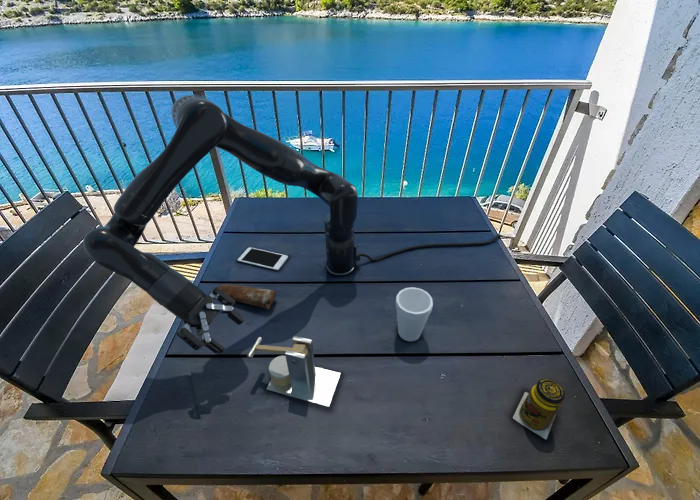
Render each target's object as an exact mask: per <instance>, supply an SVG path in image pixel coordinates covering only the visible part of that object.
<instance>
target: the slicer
mask: <svg viewBox="0 0 700 500" xmlns="http://www.w3.org/2000/svg"><path fill="white" fill-rule="evenodd" d="M291 341H292V345H293V346H294V344H302V345H305V346H306V348H307V350H308V353H307V356H306V355H304V354H300V353H296V352H292V351H288V350H287V351H286V353H285V354H284V356H286V361H287V366H288V371H289V376H290V381H291V383H290V384H289V385H287V386H277V385H275V384H274V383H273V382H272V379H271V378H270V381H269V382H268V384H267V387H266V390H268V391H271V392H274V393H278V394H282V395H285V396H289V397H292V398H296V399H300V400H303V401H305V402H309V403H314V404H317V405H321V406H324V407H328V408H329V407H330V405H331V403H332V400H333V397H334V394H335V391H336V388H337V385H338V382H339V379H340V377H341V372H338V371H334V370H329V369H325V368H323V367H318V366H316V362H315V354H314V345H313V340H312V339H310V338H306V337H301V336H297V335H293V337H292V340H291ZM293 346H292V347H293Z"/></svg>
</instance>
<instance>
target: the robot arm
mask: <svg viewBox="0 0 700 500" xmlns="http://www.w3.org/2000/svg"><path fill="white" fill-rule="evenodd" d="M170 114H171V119H172V122H173V125H174V127H175V128H176V130H175V132H174V134H173V136H172V138H171V139H170V141H169V142H168V144H167V145H166V146H165V148H163V151H162V152H161V153H160V154H159V155H158V156H157V157H156V158H155V159H154V160H153V161H151V162H150V163H149V164H148V165H146V166H145V167H144V168H143V169H142V170H141V171H139V173H138V174H136V176H134V178H133V179H132V180H131V181H130V182H129V184H128V185H127V186H126V188H125V189H124V190H123V192H122V193H121V194H120V195H119V197H118V199H117V200H116V201H115V204H114V205H113V214H112V216H111V217H110V219H109V220H108V222H107V223H106V224H105V225H103V226H99V227H96V228H94V229H92V230H90V231H88V232H87V233H86V234H85V236H84V237H83V240H82V246H83V249H84V252H85V253H86V255H87V256H88V257H89V258H90V259H91V260H92V261H93V262H95V263H96V264H98V265H100V266H101V267H103V268H105V269H107V270H109V271H111V272H112V273H115V274H117V275H118V276H119V275H120V276H122V277H124V278H126V279H128V280H130V281H131V282H132V283H134V284H135V285H136V286H138V288H140V289H141V290H143V291H144V292H145V293H146V294H147V295H149V297H150V298H152V299H153V300H154V301H155V302H156V303H158V304H159V306H162V307H163V308H165V309H166V310H168V311H169V313H171V314H173V315H174V316H175V317H176V318H178V319H180V320H182V322H183V323H184V325H183V326H181V328H180V329H178V330H177V331H176V334H175V335H176V336H177V337H178V338H180V339H181V340H182V341H183V342H184V343H186V344H187V345H188V346H189V347H190V348H192V349H193V350H194V351H198V350H200V349H201V348H203V347H205V348H208V349H209V350H210V351H211V352H213V353H214V354H222V353H223V352H224V351H225V349H226V348H225V347H224V346H223V345H221V344H220V343H218V342H217V341H216V340H215V339H213V338H211V336H210V332H209V331H210V328H209V326H210V325H211V323H212V322H213V320H214V319H215V318H216V317H217V316H218V315H226V317H227V318H229V319H230V320H231V321H233V322H234V323H235V324H236V325H238V326H239V325H242V324H243V323H244V322H245V320H244V317H243V315H241V314H240V313H239V312H238V311H236V310H235V309H234V305H235V304H236V301H235V300H234V299H232V298H231V297H230V296H228V295H227V294H226V293H224V292H223V291H221V290H220V289H219V288H218V287H214V288H212V290H210V291H209V294H208V295H207V294H205V292H204V291H203V290H202V289H201V288H200V287H198V286H197V285H196V284H195V283H193V282H192V281H190V280H189V279H188V278H186V276H184V275H183V274H182V273H181V272H179V271H177V270H175V269H174V268H172V267H171V266H169V265H168V264H167V263H166V262H164V261H163V260H162V259H161V258H160V257H158V256H157V255H155V254H153V253H151V252H143V251H141V250H140V249H138V248H137V247H136V245H137V243H138V242H139V240H140V239H141V237H142V234H143V233H144V231H145V230H146V227H147V225H148V224H149V222H150V221H151V220H152V219H153V217H155V215H156V214H157V213H158V211H159V210H160V208H161V207H162V206H163V204H164V203H165V202H166V200H167V199H168V198H169V197H170V195H171V193H173V191H174V190H175V189H176V188H177V186H178V185H179V184H180V183H181V182H182V180H183V179H184V178H186V176H187V175H188V174H189V173H190V172H191V171H192V170H193V169H194V167H196V166H197V165H198V164H199V163H200V162H201V161H202V160H203V159H204V158H205V157H206V156H207V155H208V154H209V153H210V152H211V151H213V149H214V148H217V149H220V150H222V151H224V152H227V153H228V154H230V155H232V156H234V157H235V158H236V159H238V160H239V161H241V162H242V163H244V164H245V165H246V166H248V167H249V168H251V169H252V170H255V171H256V172H258V173H260V174H261V175H262V176H265V177H267V178H269V179H271V180H273V181H275V182H277V183H279V184H282V185H286V186H292V187H299V188H303V189H305V190H306V191H308V192H310V193H312V194H313V195H315V196H316V197H318V198H319V199H320V200H321V201H322V202H323V203H325V204H326V205H327V206H328V207H329V213H328V214H327V215H326V216H325V217H324V221H323V222H324V235H325V236H324V237H325V238H324V239H325V253H326V254H325V255H326V270H327V272H328V273H329V274H331V275H333V276H336V277H337V276H338V277H343V276H348V275H350V274H351V273H352V272H353V271H354V270H355V269H356V268H357V262H359V261H361V257H364V258H367V259H368V260H369V261H372V262H378V261H382V260H384V259H386V258H388V257H391V256H393V255H397V254H400V253H403V252H406V251H410V250H415V249H420V248H421V249H422V248H430V247H458V246H459V247H460V246H461V247H463V246H466V247H467V246H482V245H488V244H490V243H491V244H492V243H493V242H494V241H495V240H497V239H498V238H503V235H502V234H501V233H498V234H496V235H495V236H494V237H493V238H491V239H489V240H487V241H479V242H478V241H476V242H456V243H455V242H452V243H451V242H450V243H449V242H448V243H447V242H445V243H428V244H419V245H418V244H417V245H412V246H407V247H404V248H401V249H397V250H395V251H392V252H388V253H386V254H384V255H382V256H380V257H375V258H372V257H371V256H370V255H369V254H366V253H362V252H359V251H358V250H357V245H356V244H355V222H356V220H357V217H358V203H359V202H358V201H359V193H358V189H357V187H356V186H355V185H354V184H353V183H352V182H351V181H349V180H348V179H346V178H345V177H344V176H342V175H340V174H338V173H335V172H334V171H330V170H327V169H326V168H323V167H321V166H318V165H316V163H314V162H312V161H311V160H310V159H308V158H307V157H306V156H305V155H303V153H301V152H299V151H298V150H296V149H294V148H293V147H291V146H289V145H288V144H285V143H284V142H282V141H280V140H279V139H276V138H274V137H273V136H270V135H268V134H266V133H264V132H261V131H258V130H256V129H254V128H252V127H250V126H247V125H245V124H242V123H241V122H239V121H237V120H236V119H235V118H233V117H231V116H230V115H229V114H227V113H225V112H224V111H223V110H222V108H221V107H220V106H219V105H217V104H215V102H213V101H211V100H209V99H208V98H206V97H204V96H203V95H198V94H188V95H183V96H180V97H179V98H177V99H176V100H175V101H174V103H173V104H172V107H171V113H170ZM215 300H217V301H218V302H219V304H217V303H215ZM220 303H221V304H220ZM191 328H195V332H196V335H197V336H196V335H195V334H194V333H192V330H191Z"/></svg>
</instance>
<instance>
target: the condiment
mask: <svg viewBox="0 0 700 500" xmlns="http://www.w3.org/2000/svg"><path fill="white" fill-rule="evenodd" d="M565 397H566V393H565V390H564V388H563V387H562V386H561V385H560V383H558V382H557V381H555V380H554V379H551V378H541V379H539V380H538V381H537V383H536V384H535V385H533V386H532V387H531V388H530V390H529V392H527V391H525V392H524V393H523V396H522V397H521V399H520V402H519V403H518V405H517V408H516V410H515V411H514V414H513V416H512V419H513V421H516V422H517V423H519V424H520V425H522V426H524V427H525V428H526V429H528V430H530V431H531V432H533V433H534V434H536V435H538V436H539V437H541V438H542V439H544V440H547V439H548V437H549V434H550V432H551V429H552V426H553V423H554V421H555V419H556V416H557V413H558V412H559V411H560V409H561V407H562V405H563V401H564V400H565Z"/></svg>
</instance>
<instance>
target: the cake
mask: <svg viewBox="0 0 700 500" xmlns="http://www.w3.org/2000/svg"><path fill="white" fill-rule="evenodd" d="M268 371H269V375H270V380H271V379H272V382H273V383H274V384H275V385H277V386H287V385H289V384H290V383H291V381H290V376H289V371H288V366H287V361H286V356H285V355H279V356H277V357H274V358H273V359H271V361H270V363H269V366H268Z"/></svg>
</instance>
